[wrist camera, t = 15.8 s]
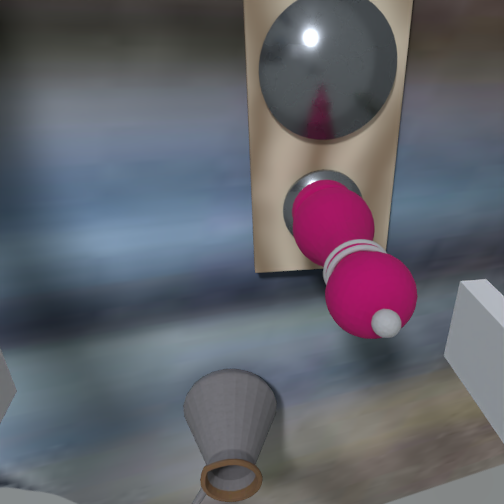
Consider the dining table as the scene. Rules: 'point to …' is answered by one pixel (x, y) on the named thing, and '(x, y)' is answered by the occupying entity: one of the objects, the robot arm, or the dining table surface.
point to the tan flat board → (316, 145)
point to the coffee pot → (230, 431)
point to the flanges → (327, 66)
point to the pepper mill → (352, 261)
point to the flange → (308, 180)
